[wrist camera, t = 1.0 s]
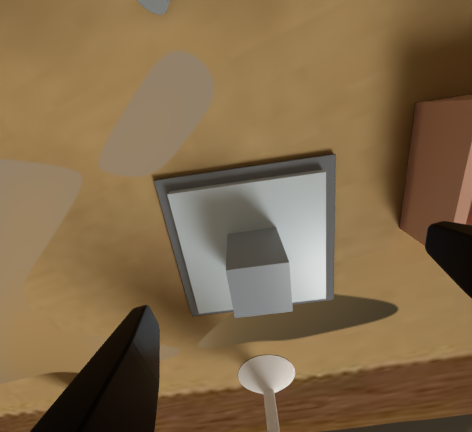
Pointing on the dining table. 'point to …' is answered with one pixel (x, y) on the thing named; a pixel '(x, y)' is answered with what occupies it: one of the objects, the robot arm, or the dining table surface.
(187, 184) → the mat
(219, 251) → the lid
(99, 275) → the dining table surface
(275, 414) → the champagne flute
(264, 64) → the dining table surface
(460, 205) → the pink open box
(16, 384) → the dining table surface
